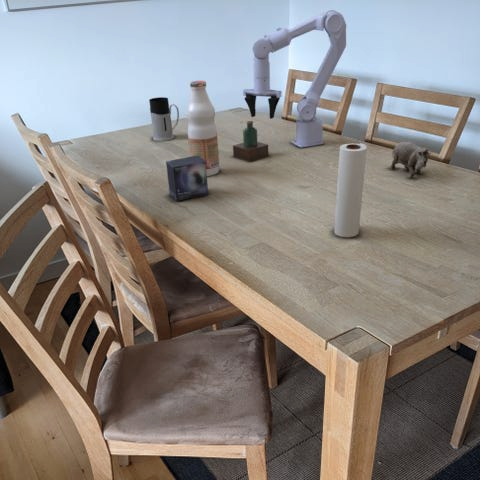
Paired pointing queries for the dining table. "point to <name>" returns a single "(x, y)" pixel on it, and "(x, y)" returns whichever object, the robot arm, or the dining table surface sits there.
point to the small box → (187, 177)
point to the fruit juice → (202, 127)
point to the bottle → (250, 135)
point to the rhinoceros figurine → (410, 157)
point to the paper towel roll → (349, 189)
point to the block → (250, 151)
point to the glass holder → (162, 118)
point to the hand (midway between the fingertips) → (262, 117)
